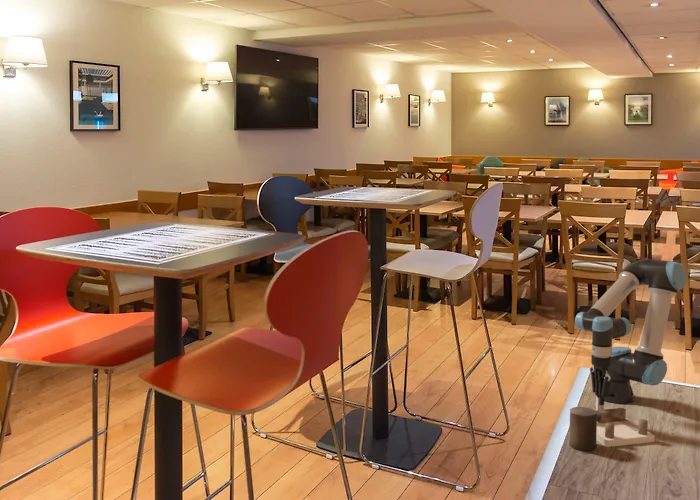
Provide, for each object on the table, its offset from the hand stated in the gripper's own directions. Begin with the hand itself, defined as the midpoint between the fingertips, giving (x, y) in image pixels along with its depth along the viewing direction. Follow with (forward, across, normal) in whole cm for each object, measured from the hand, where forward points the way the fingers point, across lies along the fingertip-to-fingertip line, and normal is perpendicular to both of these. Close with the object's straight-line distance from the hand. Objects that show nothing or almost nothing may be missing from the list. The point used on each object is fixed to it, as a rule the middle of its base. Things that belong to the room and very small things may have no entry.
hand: (599, 411), depth 267 cm
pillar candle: (+6, +18, -17) cm, 25 cm away
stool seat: (+5, +11, 0) cm, 12 cm away
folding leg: (+2, +4, +3) cm, 5 cm away
